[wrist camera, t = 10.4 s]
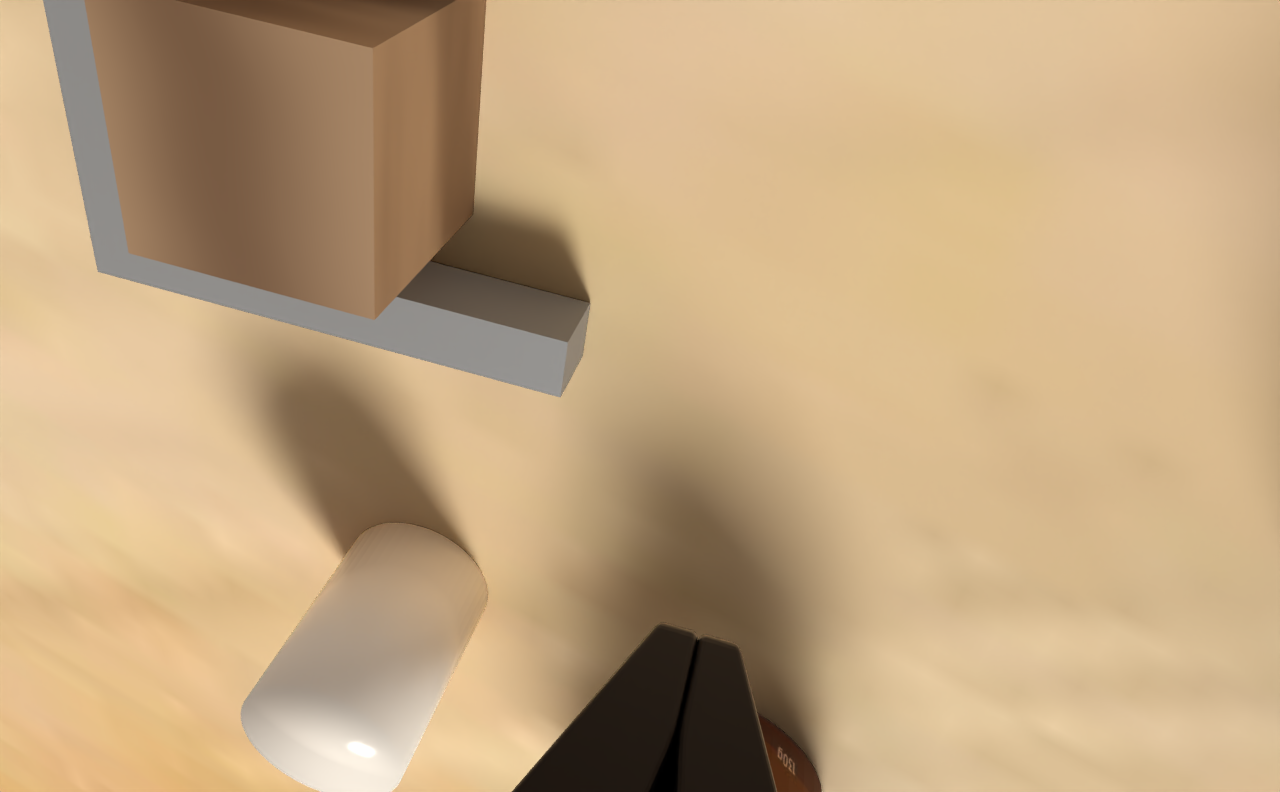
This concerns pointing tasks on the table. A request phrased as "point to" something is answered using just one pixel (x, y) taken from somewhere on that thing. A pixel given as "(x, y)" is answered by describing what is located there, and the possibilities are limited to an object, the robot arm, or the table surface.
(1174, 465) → the table surface
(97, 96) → the grey bay
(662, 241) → the table surface
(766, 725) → the food container
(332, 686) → the white rounded cylinder
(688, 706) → the robot arm
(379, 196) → the walnut block
